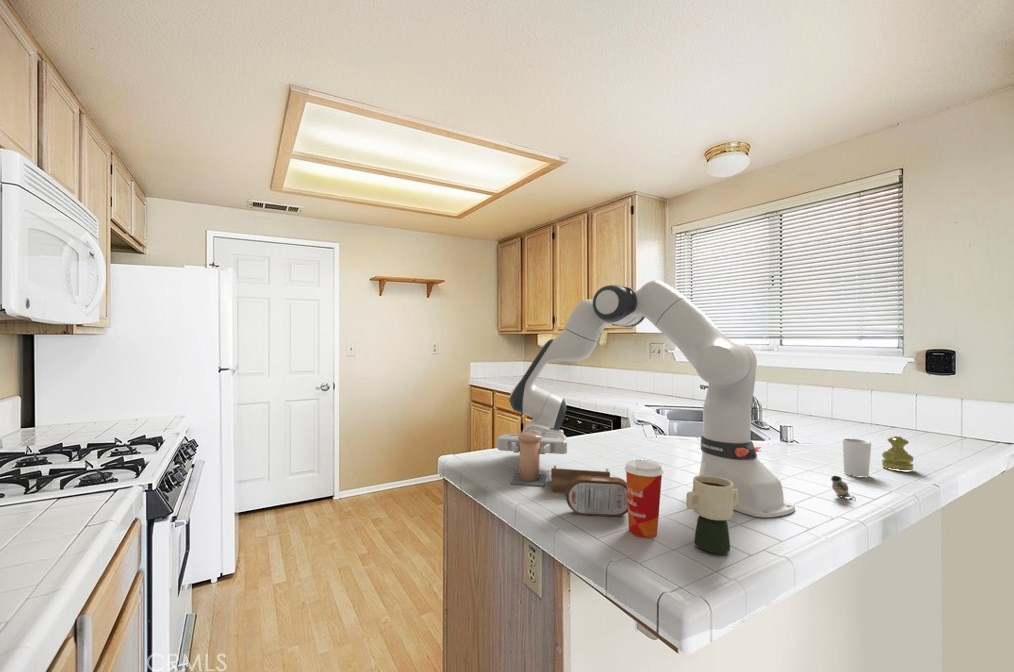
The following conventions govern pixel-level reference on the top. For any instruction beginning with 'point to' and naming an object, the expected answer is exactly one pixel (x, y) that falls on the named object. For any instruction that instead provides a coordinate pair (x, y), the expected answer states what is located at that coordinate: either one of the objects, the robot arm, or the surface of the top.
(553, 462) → the top surface
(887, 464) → the gold chess piece
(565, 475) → the wooden u-shaped open frame
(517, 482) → the slate mat
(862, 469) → the white cup
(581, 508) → the tin
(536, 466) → the peach capped cylinder
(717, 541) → the character mug
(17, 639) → the top surface
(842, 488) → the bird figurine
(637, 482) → the paper cup
